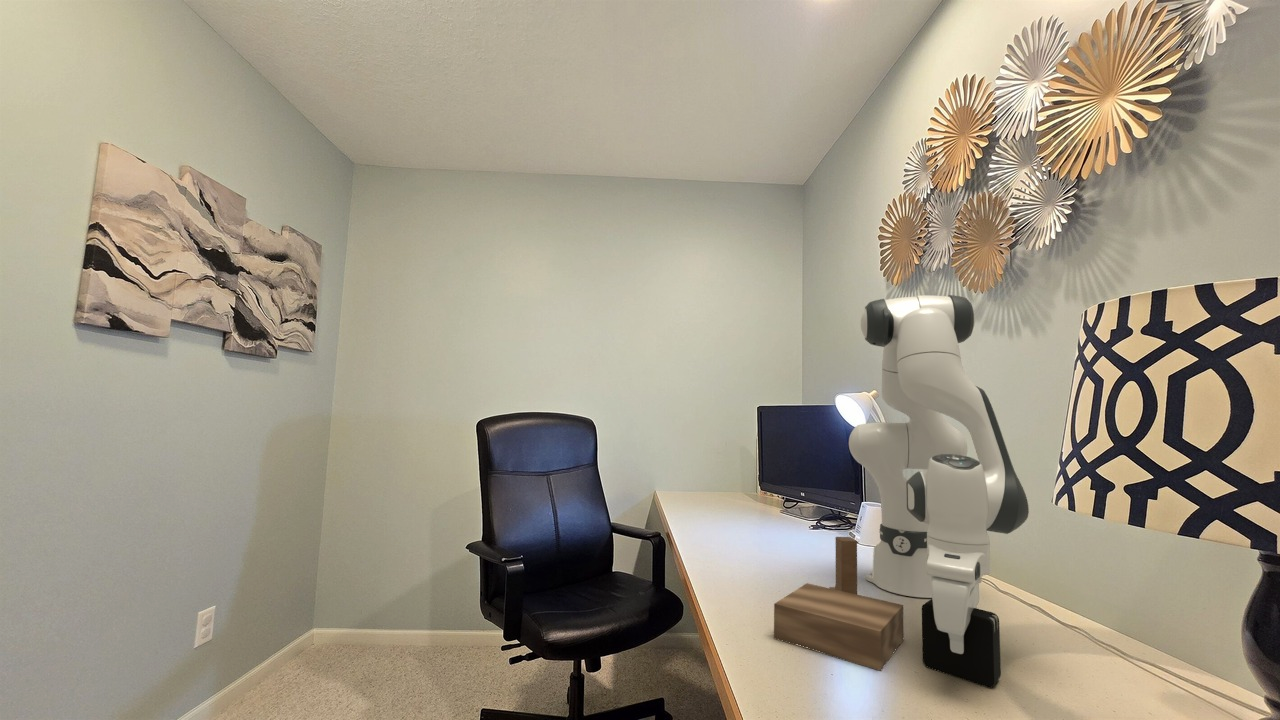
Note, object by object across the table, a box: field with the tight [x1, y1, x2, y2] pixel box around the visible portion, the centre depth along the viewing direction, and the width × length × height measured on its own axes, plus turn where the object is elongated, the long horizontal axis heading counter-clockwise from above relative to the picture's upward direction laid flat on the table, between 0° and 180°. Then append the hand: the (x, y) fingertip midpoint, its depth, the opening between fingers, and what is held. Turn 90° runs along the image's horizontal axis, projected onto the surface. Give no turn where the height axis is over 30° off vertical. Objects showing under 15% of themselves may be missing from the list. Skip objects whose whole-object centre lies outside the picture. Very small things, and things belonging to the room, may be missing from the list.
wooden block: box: [829, 536, 858, 595], centre depth 112 cm, size 7×3×15 cm, turn 3°
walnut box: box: [773, 582, 905, 672], centre depth 97 cm, size 16×18×6 cm
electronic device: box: [921, 598, 1002, 689], centre depth 85 cm, size 4×10×10 cm, turn 44°
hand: (960, 646), depth 85 cm, fingers closed on electronic device, 4 cm apart
